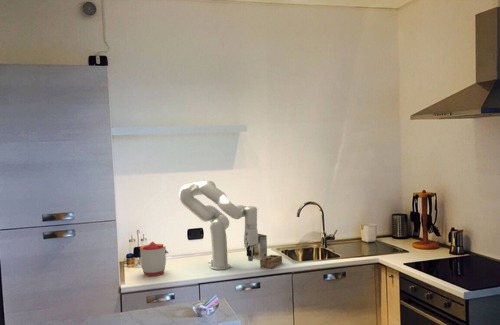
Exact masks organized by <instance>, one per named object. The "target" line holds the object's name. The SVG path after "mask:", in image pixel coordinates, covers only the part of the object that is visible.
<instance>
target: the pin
mask: <svg viewBox="0 0 500 325" xmlns="http://www.w3.org/2000/svg"><path fill="white" fill-rule="evenodd" d="M247 261H248V262H253V261H254V259H253V245H252V246H251V257H249V256H247Z"/></svg>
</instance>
